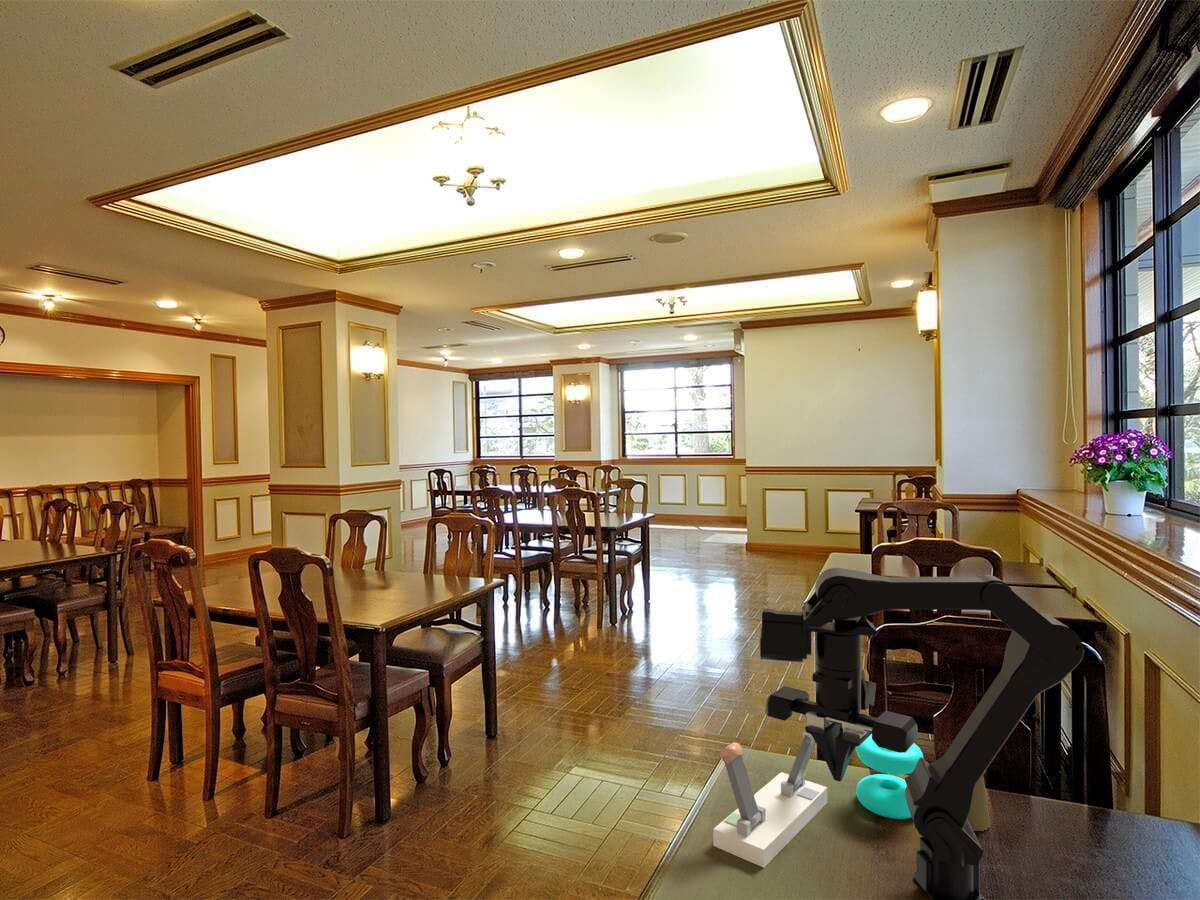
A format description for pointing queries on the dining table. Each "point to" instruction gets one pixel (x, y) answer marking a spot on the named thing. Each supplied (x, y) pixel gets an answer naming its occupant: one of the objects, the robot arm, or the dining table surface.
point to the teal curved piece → (886, 779)
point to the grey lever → (801, 760)
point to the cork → (979, 808)
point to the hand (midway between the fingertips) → (838, 779)
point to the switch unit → (771, 820)
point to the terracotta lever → (740, 783)
